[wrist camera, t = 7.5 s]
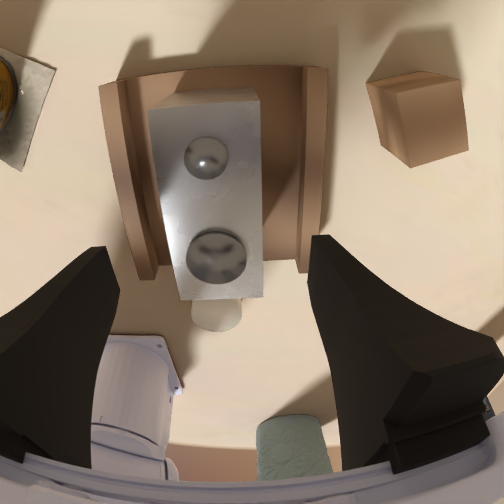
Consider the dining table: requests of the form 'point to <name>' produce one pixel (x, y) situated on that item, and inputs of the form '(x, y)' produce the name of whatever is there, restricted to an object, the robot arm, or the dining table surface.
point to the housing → (211, 190)
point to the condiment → (20, 104)
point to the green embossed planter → (291, 448)
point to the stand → (272, 155)
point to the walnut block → (419, 116)
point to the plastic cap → (216, 314)
